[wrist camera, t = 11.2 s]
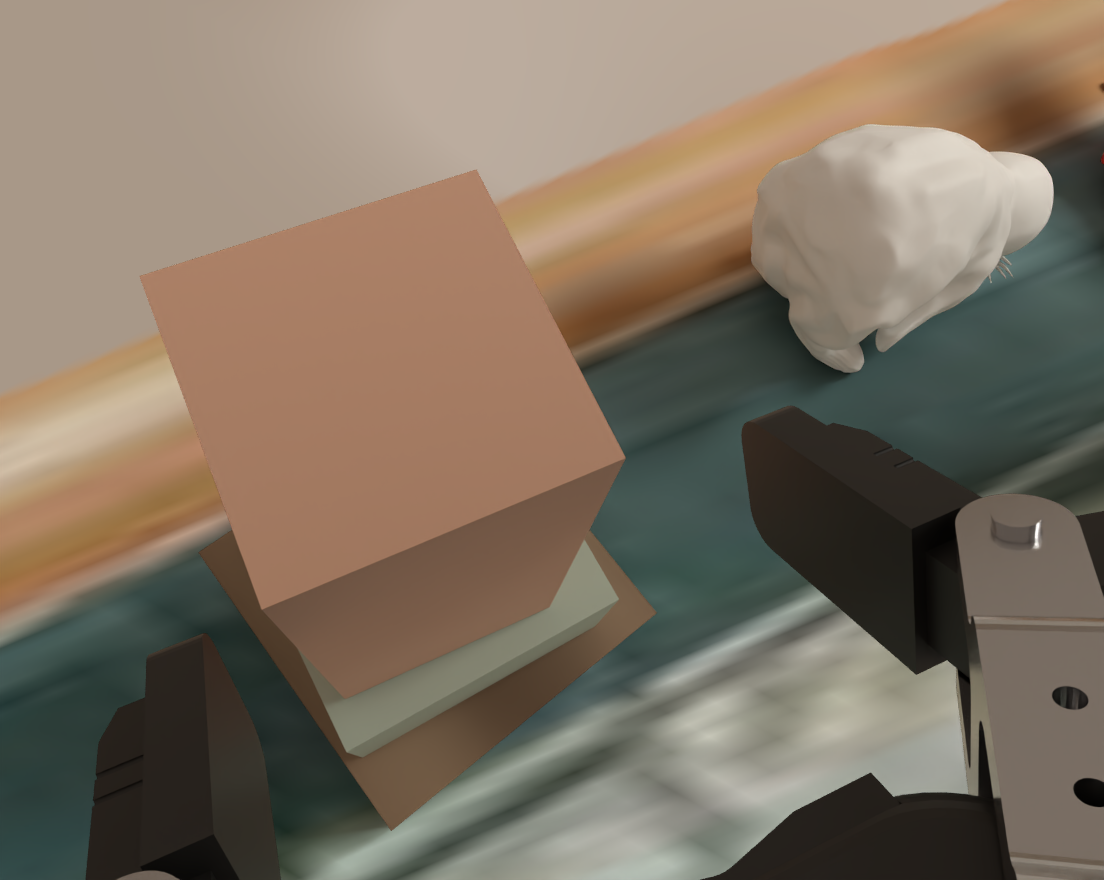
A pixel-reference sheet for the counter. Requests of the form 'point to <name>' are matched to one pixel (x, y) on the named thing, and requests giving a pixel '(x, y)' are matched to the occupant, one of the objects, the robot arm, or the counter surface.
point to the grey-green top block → (467, 664)
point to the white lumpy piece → (890, 231)
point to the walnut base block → (463, 730)
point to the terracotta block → (389, 426)
